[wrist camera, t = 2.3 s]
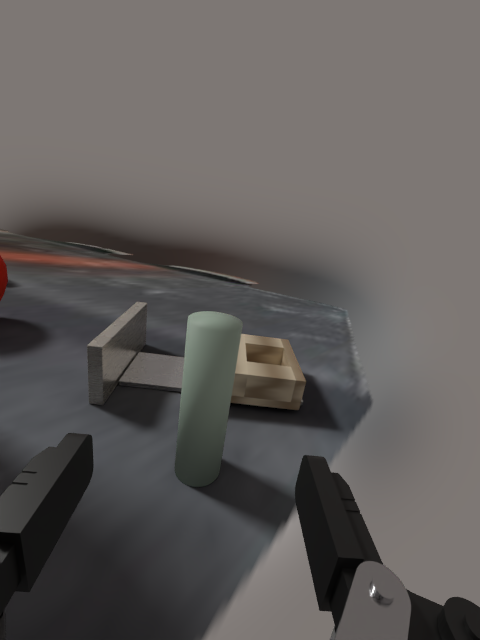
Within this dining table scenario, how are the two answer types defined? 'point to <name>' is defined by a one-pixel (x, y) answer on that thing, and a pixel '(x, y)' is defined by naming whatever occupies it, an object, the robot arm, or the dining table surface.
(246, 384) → the socket block
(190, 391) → the dowel
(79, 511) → the dining table surface
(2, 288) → the apple
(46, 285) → the dining table surface
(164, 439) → the dining table surface
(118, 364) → the rail base
